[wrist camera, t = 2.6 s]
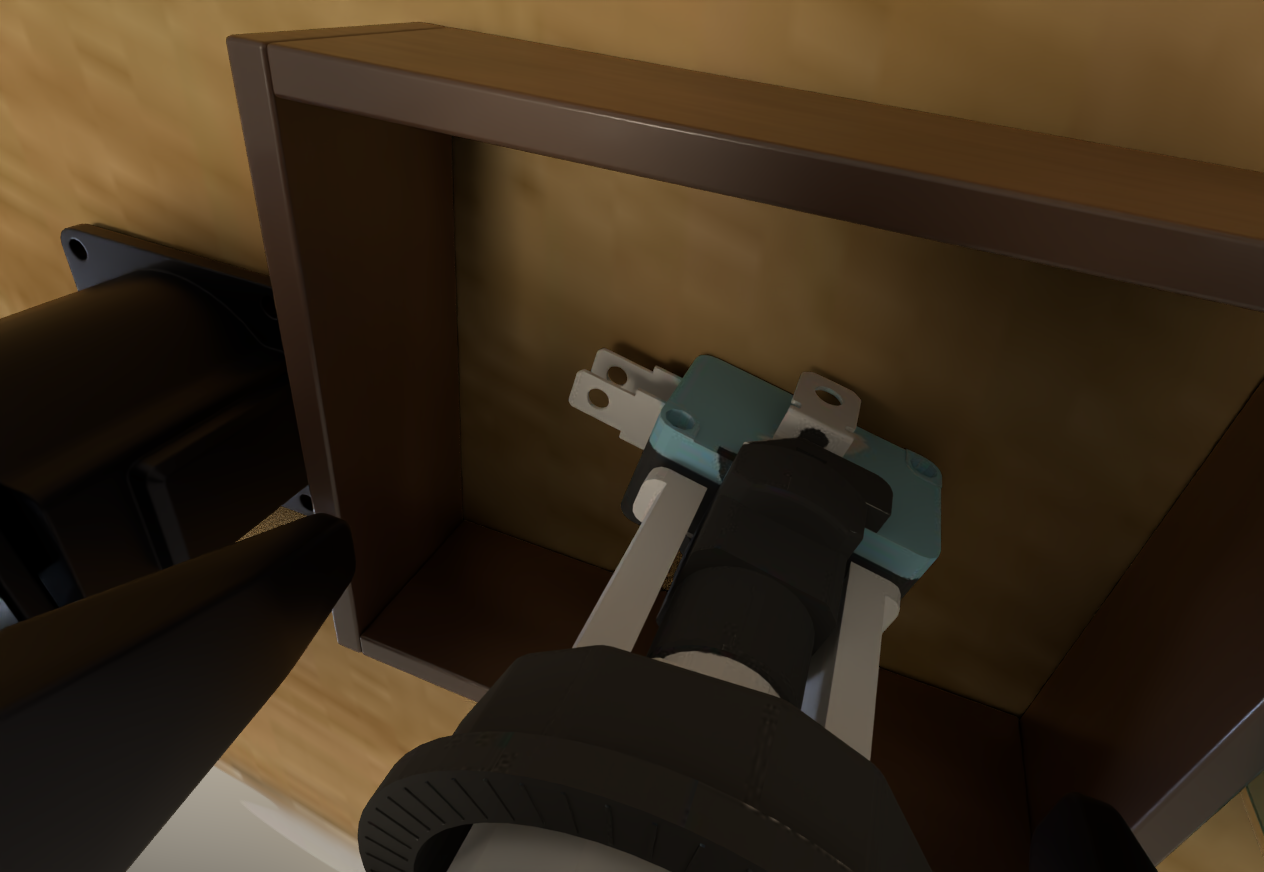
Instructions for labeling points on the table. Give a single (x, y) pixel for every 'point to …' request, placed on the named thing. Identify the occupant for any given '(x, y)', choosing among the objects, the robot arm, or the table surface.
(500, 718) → the push button
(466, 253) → the table surface
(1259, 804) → the teal wide round container
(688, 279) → the table surface
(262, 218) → the wooden box
